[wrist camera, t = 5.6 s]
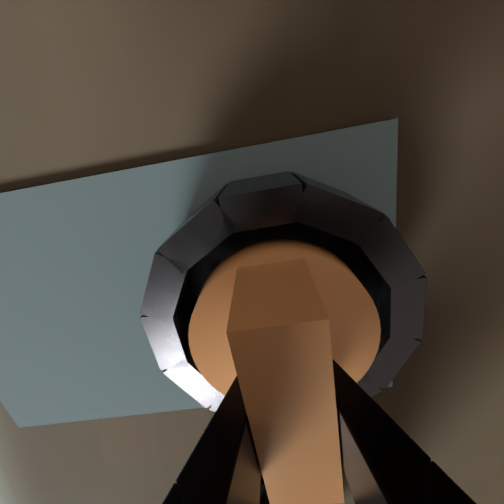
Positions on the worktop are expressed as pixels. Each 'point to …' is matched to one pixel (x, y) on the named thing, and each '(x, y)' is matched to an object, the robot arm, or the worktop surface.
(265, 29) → the worktop surface
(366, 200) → the mat
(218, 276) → the rotary knob
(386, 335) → the black ring
